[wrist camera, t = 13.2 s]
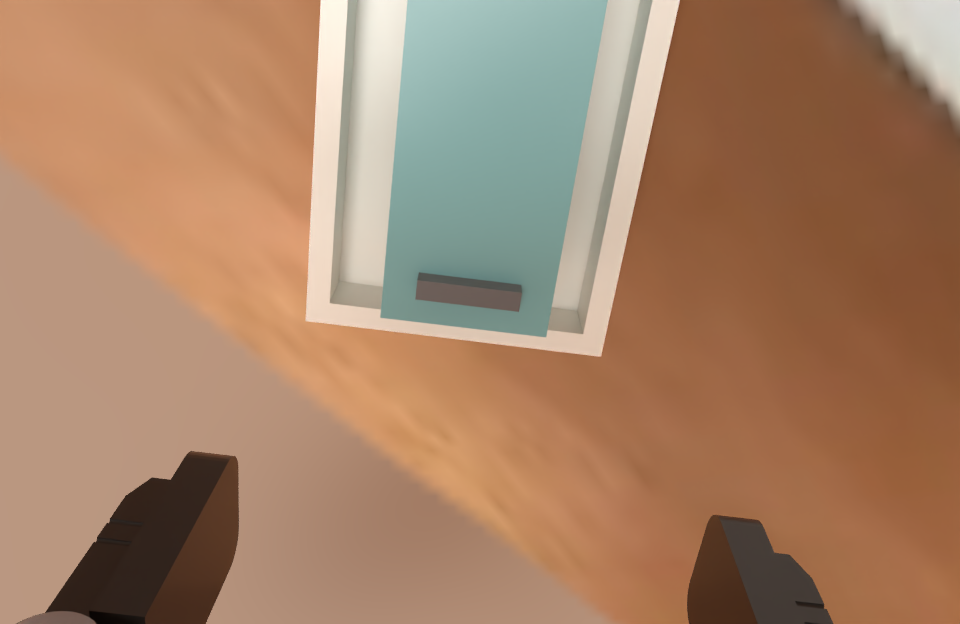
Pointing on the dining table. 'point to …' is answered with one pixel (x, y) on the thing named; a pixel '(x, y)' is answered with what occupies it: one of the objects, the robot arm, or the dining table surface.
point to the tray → (370, 157)
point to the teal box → (487, 159)
